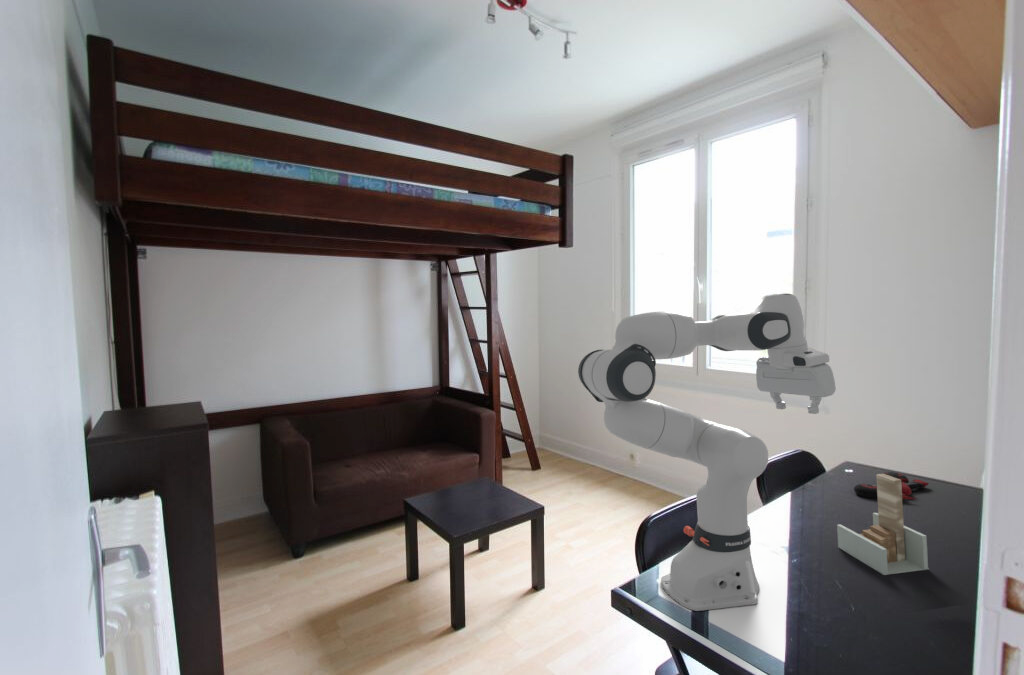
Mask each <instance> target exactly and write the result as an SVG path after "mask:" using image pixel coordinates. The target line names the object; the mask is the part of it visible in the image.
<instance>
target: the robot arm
mask: <svg viewBox="0 0 1024 675" xmlns="http://www.w3.org/2000/svg"><path fill="white" fill-rule="evenodd" d="M804 329H805V321H804V315H803V312H802V308H801V304H800V302H799V299H798V298H797V296H796V295H794V294H791V293H785V292H782V293H771V294H766V295H764V296H762V298H761V301H760V303H758V305H757V306H755V307H754V308H752V309H751V310H750V311H747V312H736V313H735V312H734V313H733V312H732V313H729V312H728V313H721V314H719V315H717V316H715V317H713V318H711V319H709V320H707V321H704V320H703V321H696V320H694V318H693V317H692V316H691V315H690V314H688V313H684V312H679V311H678V312H677V311H651V312H644V313H639V314H634V315H630V316H627V317H625V318H623V319H622V320H620V322H619V323H618V325H617V327H616V329H615V335H614V336H615V337H614V338H615V343H614V345H613V347H612V349H596V350H593V351H591V352H589V353H587V354H586V355H585V356H583V358H582V359H581V361H580V363H579V365H578V370H577V374H578V378H579V381H580V383H581V384H582V385H583V387H584V388H585V389H586V390H587V391H588V393H590V395H592V397H593V398H594V399H595V400H596V402H598V403H604V405H605V406H604V407H605V409H604V411H603V412H604V413H603V421H604V425H605V427H606V429H607V431H608V432H609V433H611V434H612V435H614V436H616V437H618V438H619V439H621V440H623V441H625V442H626V443H629V444H632V445H635V446H638V447H640V448H643V449H647V450H650V451H653V452H655V453H659V454H662V455H666V456H669V457H672V458H679V459H682V460H686V461H689V462H693V463H695V464H698V465H700V466H703V467H706V469H707V480H706V482H705V484H703V485H702V486H701V487H699V488H698V490H697V492H696V495H695V496H696V509H697V510H696V511H697V512H696V513H697V522H696V524H695V528H692V527H691V526H689V525H685V526H684V527H683V530H682V531H683V533H684V534H685V535H687V536H688V537H692V540H691V541H689V543H687V545H685V546H684V547H683V549H682V550H680V551H679V552H678V553H677V554H676V555H675V556H674V557H673V558H672V560H671V564H670V571H669V572H670V573H668V574H665V575H663V576H661V581H660V583H662V584H661V587H662V586H663V587H662V589H663V588H664V589H665V590H666V591H665V590H664V589H663V590H664V591H665V593H666V592H667V593H668V594H669V595H670V596H671V597H670V596H669V595H668V594H667V593H666V594H667V595H668V596H669V597H670V598H671V599H673V600H674V599H675V600H676V601H677V602H676V601H675V600H674V601H675V602H676V603H678V602H679V603H680V604H679V603H678V604H679V605H681V606H683V607H684V608H687V609H688V610H691V611H696V612H699V611H707V610H708V611H709V610H716V609H717V610H718V609H725V608H733V607H734V608H735V607H743V606H749V605H756V604H758V601H759V600H758V593H759V591H760V584H759V582H758V578H757V576H756V573H755V569H754V564H753V560H752V555H751V554H752V553H751V545H752V538H751V528H750V526H749V525H748V494H749V490H750V486H751V485H752V482H753V481H754V480H755V479H756V478H758V477H760V475H762V474H763V473H764V472H765V470H766V468H767V466H768V463H769V450H768V446H767V445H766V443H765V442H764V441H763V440H762V439H760V438H759V437H758V436H755V435H754V434H752V433H750V432H748V431H747V430H745V429H741V428H737V427H735V426H730V425H726V424H723V423H720V422H716V421H714V420H713V421H712V420H709V419H706V418H702V417H700V416H697V415H694V414H692V413H690V412H687V411H685V410H683V409H680V408H676V407H674V406H671V405H668V404H664V403H662V402H660V401H656V400H653V399H649V398H647V397H648V396H649V395H650V394H651V392H652V391H653V389H654V387H655V384H656V376H657V374H656V373H657V371H656V364H657V363H656V362H657V360H669V359H676V358H681V357H685V356H688V355H690V354H692V353H693V352H694V350H696V347H700V346H710V347H713V348H715V349H717V350H719V351H722V352H733V351H734V352H735V351H766V350H767V355H768V356H760V357H759V358H758V359H757V360H756V363H755V364H756V371H755V372H756V374H755V376H756V387H757V389H758V390H759V391H760V392H766V393H769V394H770V397H771V399H772V400H773V402H774V403H775V408H776V410H785V409H786V408H787V405H786V404H787V403H786V401H783V399H782V397H781V395H782V394H788V395H796V396H806V397H808V398H809V400H810V401H811V403H810V405H808V406H807V413H808V414H813V415H817V414H819V412H820V409H819V405H820V404H821V401H822V398H827V397H830V396H833V395H834V394H835V392H836V382H835V377H834V372H833V370H832V368H831V366H830V364H828V363H829V362H830V356H829V354H828V353H826V352H823V351H820V350H816V349H814V348H811V347H809V346H808V343H807V340H806V336H805V335H804Z"/></svg>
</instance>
